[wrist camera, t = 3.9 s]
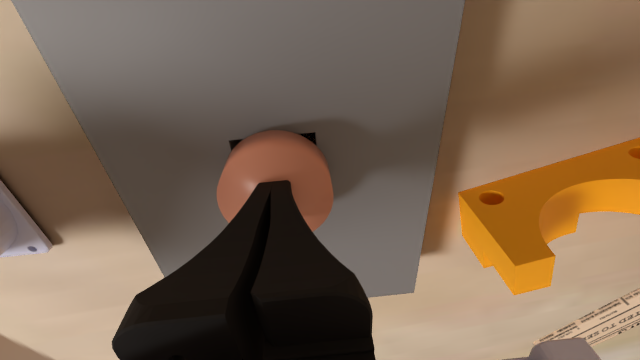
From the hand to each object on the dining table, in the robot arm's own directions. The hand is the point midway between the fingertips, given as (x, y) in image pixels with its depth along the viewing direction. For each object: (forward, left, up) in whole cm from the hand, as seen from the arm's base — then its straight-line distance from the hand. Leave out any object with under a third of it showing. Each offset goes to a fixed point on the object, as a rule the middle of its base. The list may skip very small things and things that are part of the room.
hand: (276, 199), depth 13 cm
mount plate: (0, 0, -5) cm, 5 cm away
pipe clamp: (+18, -5, -6) cm, 19 cm away
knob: (0, 0, -5) cm, 5 cm away
